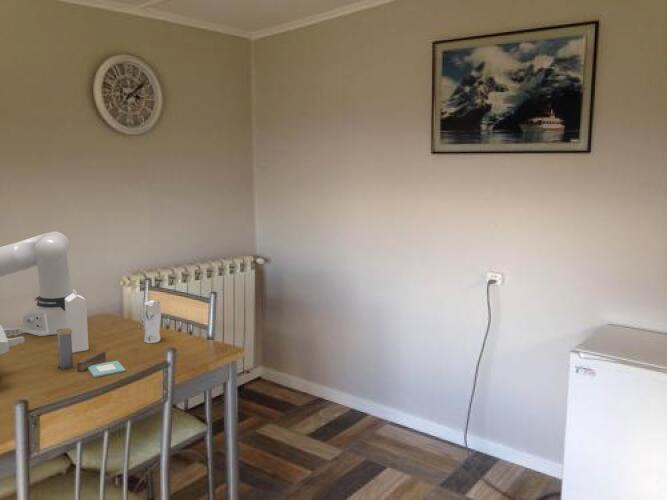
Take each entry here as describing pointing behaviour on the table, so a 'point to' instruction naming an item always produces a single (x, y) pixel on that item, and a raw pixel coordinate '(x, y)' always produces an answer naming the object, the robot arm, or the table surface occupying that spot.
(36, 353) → the table surface
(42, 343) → the table surface
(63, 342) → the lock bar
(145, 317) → the beer glass
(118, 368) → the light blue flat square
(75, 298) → the milk
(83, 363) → the dark brown bar
